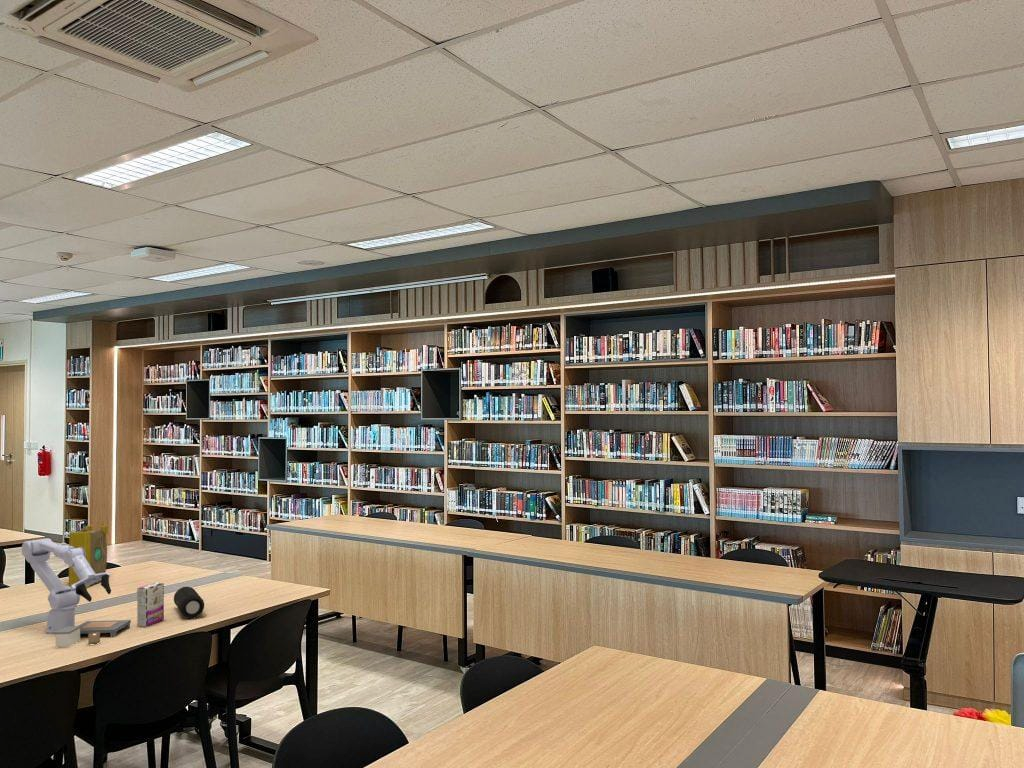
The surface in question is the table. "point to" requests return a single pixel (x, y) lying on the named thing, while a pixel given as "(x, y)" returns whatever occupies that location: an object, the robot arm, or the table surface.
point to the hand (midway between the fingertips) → (100, 596)
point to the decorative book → (90, 550)
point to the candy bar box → (150, 604)
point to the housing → (67, 636)
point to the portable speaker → (188, 602)
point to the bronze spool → (94, 638)
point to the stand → (104, 626)
